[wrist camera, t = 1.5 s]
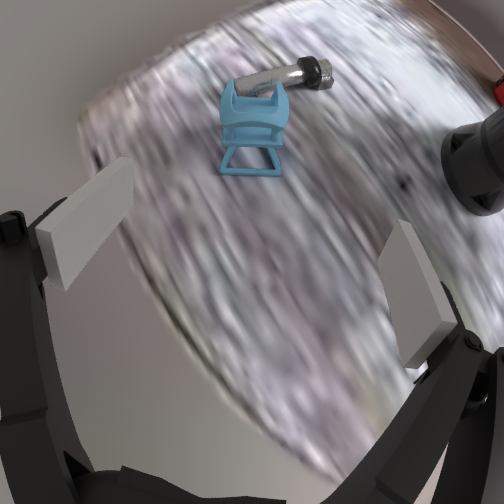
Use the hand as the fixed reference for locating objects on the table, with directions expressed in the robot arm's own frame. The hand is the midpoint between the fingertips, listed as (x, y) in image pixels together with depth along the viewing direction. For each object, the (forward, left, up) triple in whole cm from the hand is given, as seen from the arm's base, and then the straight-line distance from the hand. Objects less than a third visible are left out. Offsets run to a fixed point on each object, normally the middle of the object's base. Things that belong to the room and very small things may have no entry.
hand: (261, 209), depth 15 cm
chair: (-6, -14, -23) cm, 28 cm away
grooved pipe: (-14, -22, -23) cm, 35 cm away
